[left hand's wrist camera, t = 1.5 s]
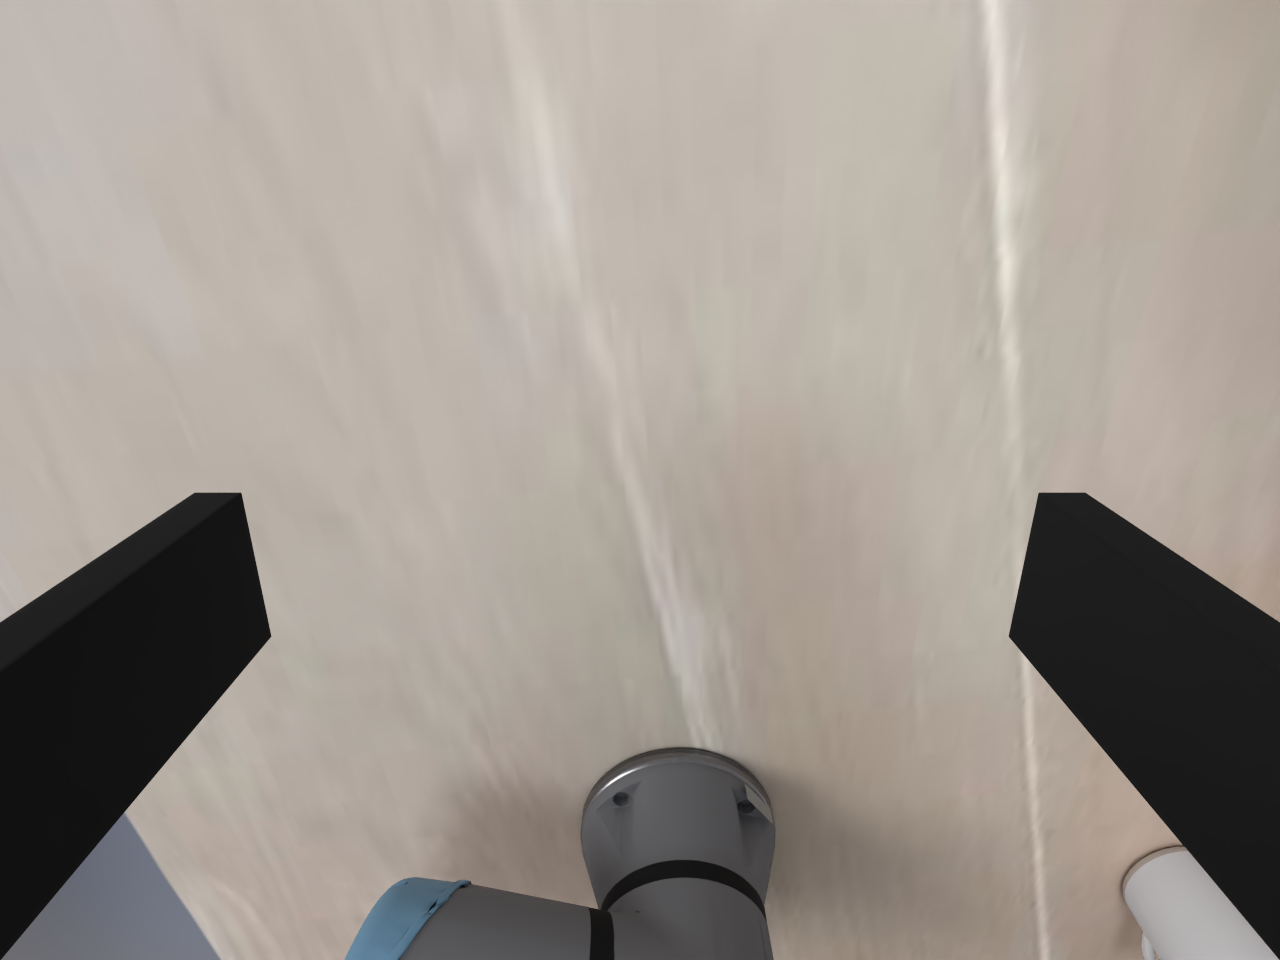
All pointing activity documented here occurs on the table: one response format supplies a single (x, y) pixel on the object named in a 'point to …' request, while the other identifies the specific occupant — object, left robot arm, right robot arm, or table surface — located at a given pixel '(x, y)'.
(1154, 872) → the mug
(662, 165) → the table surface
